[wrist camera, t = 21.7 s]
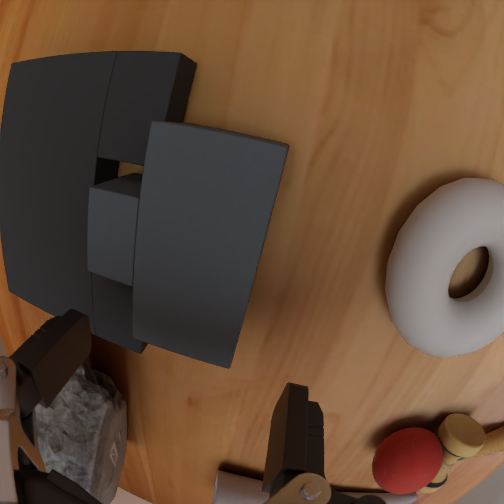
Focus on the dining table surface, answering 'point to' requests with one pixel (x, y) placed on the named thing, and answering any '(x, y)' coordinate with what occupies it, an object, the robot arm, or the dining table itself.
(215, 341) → the grey pad
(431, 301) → the donut
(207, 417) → the dining table surface
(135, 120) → the black pad
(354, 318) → the dining table surface
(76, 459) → the decorative rock
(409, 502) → the grey hollow cone
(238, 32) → the dining table surface
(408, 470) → the kendama
